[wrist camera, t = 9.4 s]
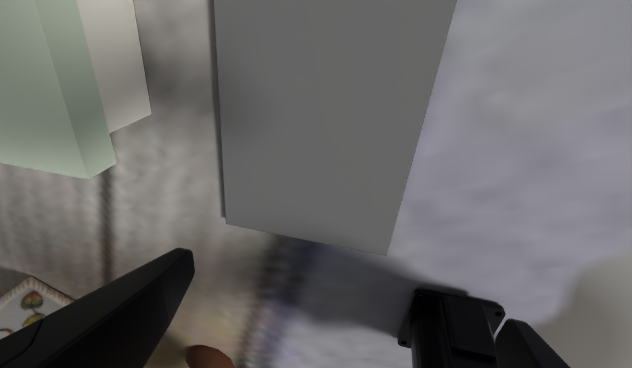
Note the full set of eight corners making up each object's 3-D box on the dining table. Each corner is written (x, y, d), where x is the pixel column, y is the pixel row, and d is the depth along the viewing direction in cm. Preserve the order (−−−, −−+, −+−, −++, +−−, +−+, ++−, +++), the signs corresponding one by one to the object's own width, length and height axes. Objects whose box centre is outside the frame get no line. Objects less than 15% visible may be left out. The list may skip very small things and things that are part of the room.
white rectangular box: (151, 114, 21) (99, 137, 17) (77, 102, 22) (10, 122, 18) (115, -101, 16) (28, -137, 12) (17, -109, 16) (-96, -145, 13)
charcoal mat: (386, 250, 23) (386, 256, 22) (229, 219, 24) (226, 223, 24) (470, -58, 14) (473, -61, 14) (214, -80, 15) (209, -83, 15)
